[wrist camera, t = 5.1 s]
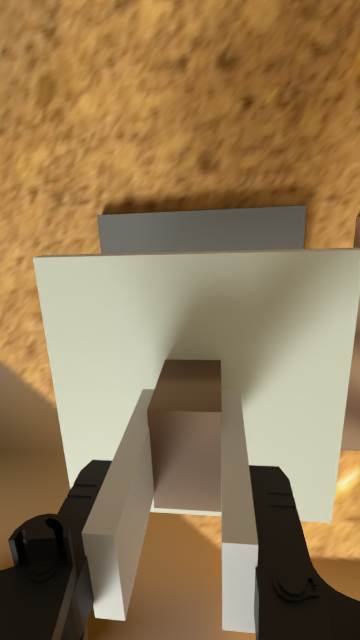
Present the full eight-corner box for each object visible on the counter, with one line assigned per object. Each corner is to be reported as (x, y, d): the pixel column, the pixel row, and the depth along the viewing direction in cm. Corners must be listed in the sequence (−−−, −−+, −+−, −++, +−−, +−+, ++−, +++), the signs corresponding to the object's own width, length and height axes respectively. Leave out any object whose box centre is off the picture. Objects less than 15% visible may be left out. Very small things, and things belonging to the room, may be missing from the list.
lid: (42, 255, 15) (-36, 274, 10) (356, 247, 13) (428, 266, 9) (79, 495, 19) (34, 586, 14) (326, 509, 17) (365, 615, 13)
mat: (101, 215, 28) (97, 215, 27) (303, 205, 26) (306, 205, 25) (120, 389, 33) (117, 394, 32) (292, 391, 31) (294, 397, 30)
